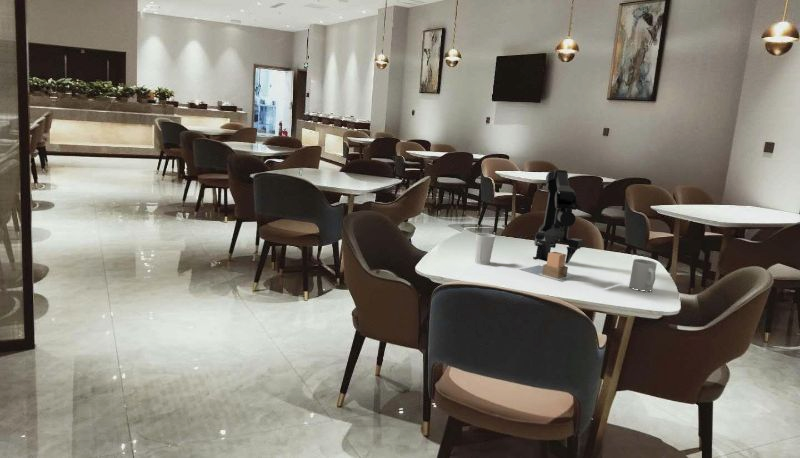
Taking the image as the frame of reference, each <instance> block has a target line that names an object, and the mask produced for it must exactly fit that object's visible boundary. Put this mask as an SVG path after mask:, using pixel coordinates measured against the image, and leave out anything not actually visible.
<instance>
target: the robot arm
mask: <svg viewBox="0 0 800 458" xmlns="http://www.w3.org/2000/svg"><path fill="white" fill-rule="evenodd" d="M545 185H546V188H547V190H548V194H547V195H548V196H547V200H546V201H547V202H546V208H545V212H544V213H545V214H544V219H543V223H542V224H541V225H540V227H539V228H538V231H537V232H536V233H535V238H534V245H535V247H536V256H533V257H532V259H535V260H541V261H544V262H547V259H548V253H550V252H551V249H552V248H554V249H555V248H556V246H557V243H558V242H559V243H563V244H567V245H568V246H566V251H567V252H566V258H565V264H569V262H570V261H571V259H572V257H573V256H574V254H575V253H576V252H577V250H580V249H581V248H584V246H585V241H584V239H581V238H575V237H574V238H570V235H569V229H570V228H571V226H573V225H574V224H575V222H576V216H575V214H574V213H573V210H574V211H576V210H577V208H578V206H579V205H578V197H577V194H576V192H575V190H574V189H573V188H572V187H570V184H569V173H568V170H566V169H565V170H564V169H555V170H553V171H550V172H548V173H547V174H546V178H545Z"/></svg>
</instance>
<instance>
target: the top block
mask: <svg viewBox="0 0 800 458" xmlns="http://www.w3.org/2000/svg"><path fill="white" fill-rule="evenodd" d="M566 256H567V253H566V254H565V253H562V252H558V251H552V252H551V251H550V253H548V259H547V261H546V264H547V265H548V266H552V267H556V268H560V267H564V266H565V264H566Z"/></svg>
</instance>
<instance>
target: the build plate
mask: <svg viewBox="0 0 800 458" xmlns="http://www.w3.org/2000/svg"><path fill="white" fill-rule="evenodd" d="M518 270H519V271H522V272H524V273H525V272H526V273H529V274H533V275H537V276H539V277H543V278H547V279H551V280H554V281H557V282H561V283H564V282H568V281H572V280H576V279H579V278H582V276H580V275H577V274H573V273H570V272H567V277H563V278H559V279H556V278H553V277H549V276H546V275H542V271H543V265H540V264H539V265H533V266H530V267H525V268H520V269H518Z"/></svg>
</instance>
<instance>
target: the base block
mask: <svg viewBox="0 0 800 458" xmlns="http://www.w3.org/2000/svg"><path fill="white" fill-rule="evenodd" d="M542 266H543V271H542V275H546V276H549V277H553V278H556V279H559V278H563V277H567V273H568V271H569V269H568V268H569V266H565V265H564V267H560V268H556V267H552V266H548V265H547V263H546V264H542Z"/></svg>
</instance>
